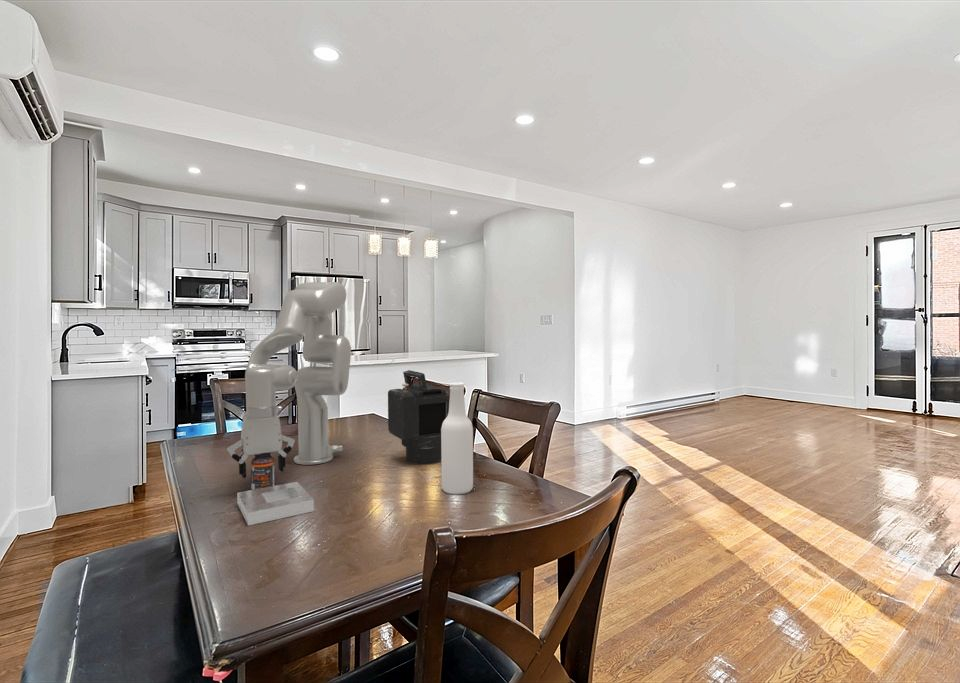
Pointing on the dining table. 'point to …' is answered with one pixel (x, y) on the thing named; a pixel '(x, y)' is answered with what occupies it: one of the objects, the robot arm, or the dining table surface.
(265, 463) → the supplement bottle
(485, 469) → the dining table surface
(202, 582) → the dining table surface
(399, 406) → the lantern
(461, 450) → the alcohol
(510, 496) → the dining table surface
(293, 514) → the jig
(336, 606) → the dining table surface
